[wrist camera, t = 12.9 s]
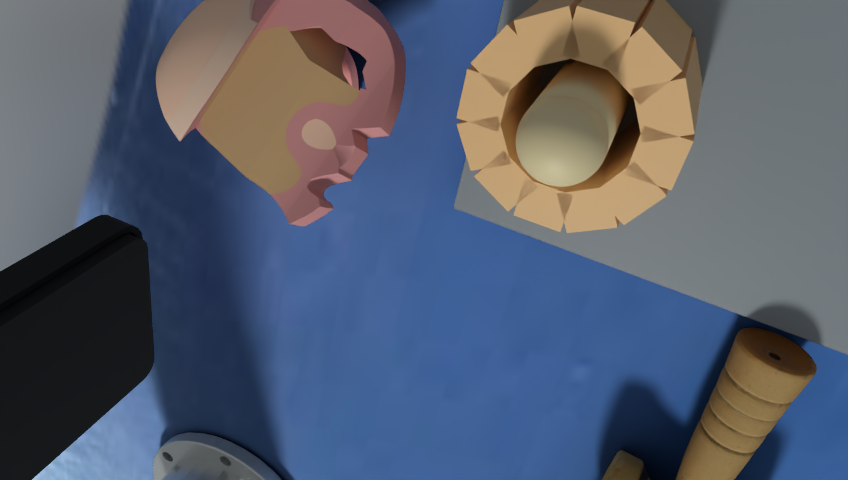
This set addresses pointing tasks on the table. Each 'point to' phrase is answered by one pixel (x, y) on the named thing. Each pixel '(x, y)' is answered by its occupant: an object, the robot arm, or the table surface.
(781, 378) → the kendama
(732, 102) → the board
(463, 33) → the table surface
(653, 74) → the collar
